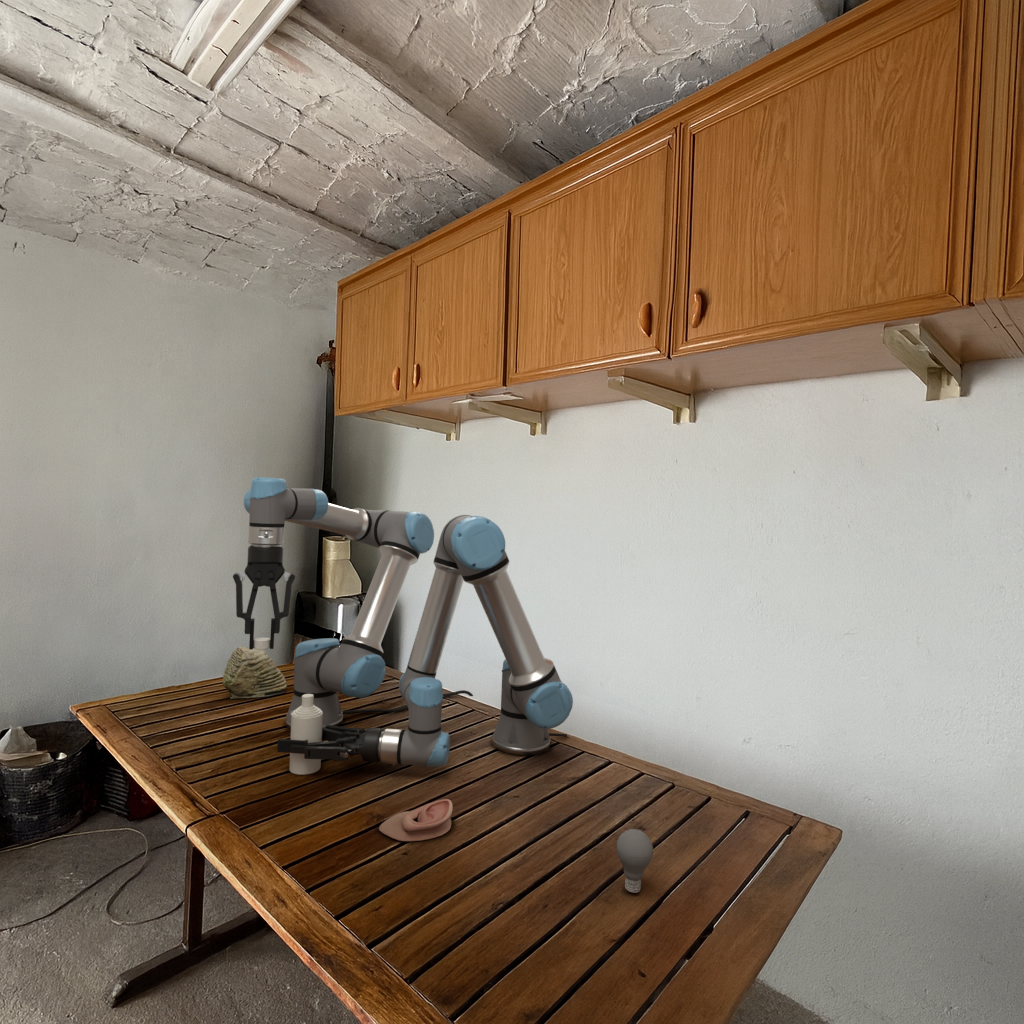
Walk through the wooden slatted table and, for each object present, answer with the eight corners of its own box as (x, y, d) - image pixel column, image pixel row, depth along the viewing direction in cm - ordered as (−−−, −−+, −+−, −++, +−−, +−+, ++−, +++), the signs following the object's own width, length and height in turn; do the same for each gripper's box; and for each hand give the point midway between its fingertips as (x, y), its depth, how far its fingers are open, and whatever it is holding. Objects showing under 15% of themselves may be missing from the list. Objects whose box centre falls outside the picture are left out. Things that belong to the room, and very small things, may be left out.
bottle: (291, 762, 150) (294, 691, 150) (321, 761, 151) (324, 690, 151) (287, 775, 143) (290, 700, 143) (319, 773, 145) (322, 699, 144)
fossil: (218, 695, 195) (220, 647, 195) (278, 685, 208) (279, 640, 207) (228, 703, 189) (230, 653, 188) (289, 692, 201) (290, 645, 201)
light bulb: (610, 879, 108) (613, 822, 108) (644, 879, 109) (647, 822, 109) (619, 902, 102) (622, 840, 102) (655, 901, 103) (658, 840, 103)
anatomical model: (372, 815, 119) (396, 788, 130) (371, 836, 119) (395, 808, 130) (440, 826, 116) (458, 797, 127) (439, 847, 116) (457, 817, 127)
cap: (252, 649, 142) (252, 641, 142) (253, 645, 146) (253, 637, 146) (270, 648, 143) (270, 640, 143) (270, 645, 147) (271, 637, 147)
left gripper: (224, 545, 138) (219, 653, 138) (305, 547, 143) (300, 650, 144) (227, 543, 145) (222, 645, 145) (304, 545, 150) (299, 643, 151)
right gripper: (369, 780, 136) (265, 773, 138) (392, 745, 156) (301, 739, 157) (370, 746, 136) (266, 739, 137) (393, 715, 156) (302, 709, 157)
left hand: (261, 647), depth 144 cm, fingers closed on cap, 4 cm apart
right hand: (285, 739), depth 147 cm, fingers closed on bottle, 7 cm apart
